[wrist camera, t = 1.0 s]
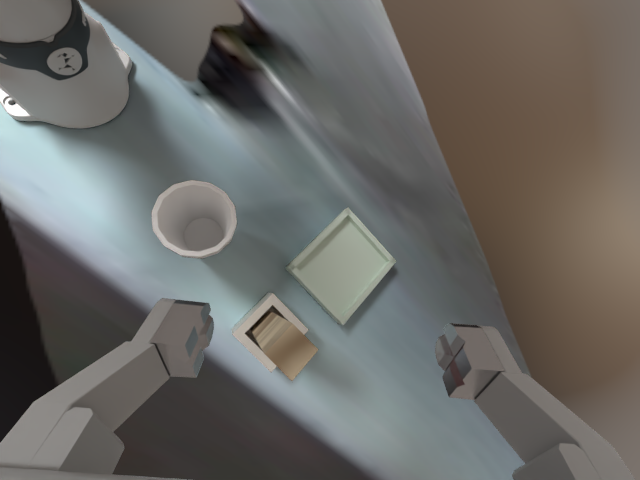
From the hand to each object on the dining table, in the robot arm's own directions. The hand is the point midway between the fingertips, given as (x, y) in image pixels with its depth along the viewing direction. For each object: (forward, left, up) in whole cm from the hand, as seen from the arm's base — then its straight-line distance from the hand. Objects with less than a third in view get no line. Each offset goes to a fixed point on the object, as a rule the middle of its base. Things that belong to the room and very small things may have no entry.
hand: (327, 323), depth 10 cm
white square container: (+6, -1, -39) cm, 40 cm away
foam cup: (-12, +2, -39) cm, 41 cm away
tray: (+8, +16, -39) cm, 43 cm away
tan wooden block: (+6, -1, -38) cm, 39 cm away
